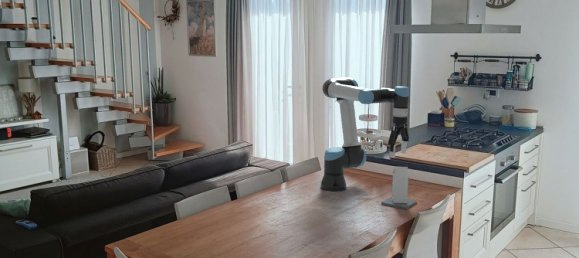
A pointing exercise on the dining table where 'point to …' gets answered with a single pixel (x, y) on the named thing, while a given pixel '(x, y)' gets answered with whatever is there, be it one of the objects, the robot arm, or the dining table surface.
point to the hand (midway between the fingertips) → (397, 155)
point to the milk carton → (400, 185)
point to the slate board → (399, 205)
